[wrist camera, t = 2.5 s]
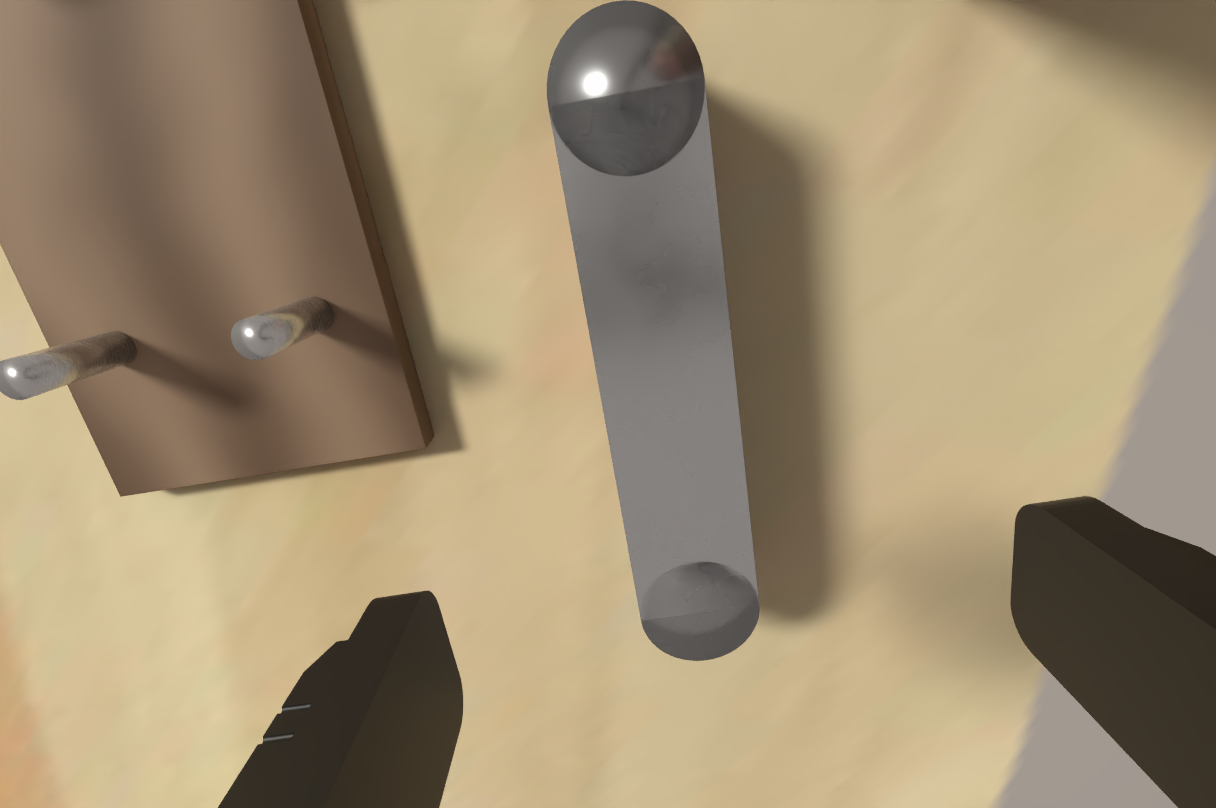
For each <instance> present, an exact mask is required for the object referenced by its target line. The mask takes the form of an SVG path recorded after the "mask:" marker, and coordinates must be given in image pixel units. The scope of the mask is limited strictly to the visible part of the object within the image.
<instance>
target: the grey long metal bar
mask: <svg viewBox="0 0 1216 808" xmlns="http://www.w3.org/2000/svg"><path fill="white" fill-rule="evenodd" d="M547 99H548V107H549V113H550V118H551V124H552V129H553V135H554V141H555V146H556V152H557V157H558V163H559V168H560V174H561V179H562V185H563V190H564V196H565V201H566V207H567V213H568V218H569V224H570V229H571V235H572V240H573V246H574V251H575V257H576V262H577V268H578V273H579V279H580V285H581V290H582V296H583V301H584V307H585V312H586V318H587V323H588V329H589V334H590V340H591V345H592V351H593V357H594V362H595V368H596V373H597V379H598V384H599V390H600V395H601V401H602V406H603V412H604V417H605V423H606V429H607V434H608V440H609V445H610V451H611V456H612V462H613V467H614V473H615V478H616V484H617V489H618V495H619V501H620V506H621V512H622V517H623V523H624V528H625V534H626V539H627V545H628V550H629V556H630V561H631V567H632V572H633V578H634V584H635V589H636V595H637V600H638V606H639V611H640V617H641V622H642V626H643V629H644V631H645V633H646V635H647V636H648V638H649V639H650V640H651V642H652V643H653V644H654V645H655V646H656V647H658V648H659V649H660V650H662V651H663V652H665V653H667V654H669V655H671V656H674V657H676V658H680V659H684V660H693V661H701V660H709V659H714V658H718V657H721V656H723V655H726V654H728V653H730V652H732V651H733V650H735V649H736V648H738V647H739V646H741V645H742V644H743V643H744V642H745V641H746V640H747V639H748V637H749V636H750V635H751V633H752V632H753V630H754V628H755V626H756V624H757V620H758V617H759V598H758V589H757V579H756V570H755V560H754V550H753V541H752V531H751V521H750V512H749V502H748V493H747V483H746V473H745V464H744V454H743V444H742V435H741V425H740V416H739V406H738V396H737V387H736V377H735V368H734V358H733V348H732V339H731V329H730V319H729V310H728V300H727V291H726V281H725V271H724V262H723V252H722V243H721V233H720V223H719V214H718V204H717V194H716V185H715V175H714V166H713V156H712V146H711V137H710V127H709V117H708V108H707V98H706V89H705V79H704V72H703V66H702V63H701V59H700V56H699V53H698V51H697V49H696V46H695V44H694V43H693V41H692V39H691V38H690V36H689V34H688V33H687V32H686V30H685V29H684V28H683V27H682V26H681V25H680V24H679V23H678V22H677V21H676V20H675V19H674V18H673V17H672V16H670V15H669V14H668V13H666V12H665V11H663V10H661V9H659V8H657V7H655V6H652V5H649V4H647V3H643V2H637V1H616V2H610V3H607V4H603V5H601V6H598V7H596V8H594V9H592V10H590V11H589V12H587V13H585V14H584V15H582V16H581V17H580V18H579V19H578V20H576V21H575V22H574V23H573V24H572V25H571V27H570V28H569V29H568V30H567V31H566V33H565V34H564V35H563V37H562V38H561V40H560V42H559V43H558V45H557V47H556V49H555V52H554V54H553V57H552V60H551V63H550V67H549V71H548V79H547Z"/></svg>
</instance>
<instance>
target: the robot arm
mask: <svg viewBox="0 0 1216 808" xmlns="http://www.w3.org/2000/svg"><path fill="white" fill-rule="evenodd" d="M1011 611H1012V616H1013V619H1014V623H1015V625H1016V628H1017V630H1018V633H1019V635H1020V637H1021V638H1022V640H1023V642H1024V643H1025V645H1026V646H1027V648H1028V649H1029V650H1030V651H1031V653H1032V654H1033V655H1034V656H1035V657H1036V658H1037V659H1038V660H1039V661H1040V662H1041V663H1042V664H1043V665H1044V666H1045V668H1046V669H1047V670H1048V671H1049V672H1050V673H1051V674H1052V675H1053V676H1054V677H1055V678H1056V679H1057V680H1058V681H1059V682H1060V683H1061V684H1062V685H1063V687H1064V688H1065V689H1066V690H1067V691H1068V692H1069V693H1070V694H1071V695H1072V696H1073V697H1074V698H1075V699H1076V700H1077V701H1078V702H1079V703H1080V704H1081V705H1082V707H1083V708H1084V709H1085V710H1086V711H1087V712H1088V713H1089V714H1090V715H1091V716H1092V717H1093V718H1094V719H1095V720H1096V721H1097V722H1098V723H1099V724H1100V726H1102V728H1103V729H1104V730H1105V731H1106V732H1107V733H1108V734H1109V735H1110V736H1111V737H1112V738H1113V739H1114V740H1115V741H1116V742H1117V743H1118V744H1119V745H1120V747H1121V748H1122V749H1123V750H1124V751H1125V752H1126V753H1127V754H1128V755H1129V756H1130V757H1131V758H1132V759H1133V760H1134V761H1135V762H1136V764H1137V765H1138V766H1139V767H1140V768H1141V769H1142V770H1143V771H1144V772H1145V773H1146V774H1147V775H1148V776H1149V777H1150V778H1151V779H1152V780H1153V781H1154V783H1155V784H1156V785H1157V786H1158V787H1159V788H1160V789H1161V790H1162V791H1163V792H1164V793H1165V794H1166V795H1167V796H1168V797H1169V798H1170V799H1171V800H1172V801H1173V803H1174V804H1175V805H1176V806H1177V807H1178V808H1216V556H1214V555H1213V554H1211V553H1209V552H1207V551H1206V550H1204V549H1202V548H1201V547H1198V546H1195V545H1192V544H1189V543H1187V542H1184V541H1181V540H1178V539H1176V538H1173V537H1170V536H1167V535H1165V534H1162V533H1159V532H1156V531H1153V530H1151V529H1148V528H1144V527H1143V526H1141V525H1139V524H1138V523H1136V522H1134V521H1133V520H1131V519H1129V518H1128V517H1126V516H1124V515H1123V514H1121V513H1120V512H1118V511H1116V510H1115V509H1113V508H1111V507H1110V506H1108V505H1106V504H1105V503H1103V502H1101V501H1100V500H1098V499H1096V498H1093V497H1088V496H1083V497H1076V498H1069V499H1062V500H1056V501H1049V502H1042V503H1035V504H1029V505H1025V506H1023V507H1022V508H1021V509H1020V510H1019V512H1018V513H1017V516H1016V521H1015V534H1014V551H1013V568H1012V586H1011ZM462 715H463V691H462V683H461V678H460V675H459V671H458V668H457V665H456V661H455V658H454V655H453V651H452V648H451V645H450V641H449V638H448V635H447V631H446V628H445V625H444V621H443V618H442V615H441V611H440V608H439V605H438V602H437V600H436V598H435V596H434V595H433V593H432V592H430V591H422V592H415V593H408V594H401V595H394V596H387V597H381V598H375V599H373V600H372V601H371V602H370V604H369V605H368V607H367V608H366V610H365V612H364V613H363V615H362V617H361V619H360V620H359V622H358V624H357V626H356V627H355V629H354V631H353V632H352V634H351V636H350V638H349V639H348V640H345V641H338V642H336V643H335V644H334V645H333V646H331V647H330V648H329V649H328V650H327V651H326V652H325V653H324V654H323V655H322V656H321V657H320V658H319V659H317V660H316V661H315V662H314V663H313V664H312V665H311V666H310V667H309V668H308V669H307V670H306V671H305V672H304V673H303V674H302V676H301V677H300V679H299V680H298V682H297V684H296V685H295V687H294V688H293V690H292V691H291V693H290V695H289V696H288V698H287V699H286V701H285V703H284V704H283V706H282V713H280V714H277V715H276V717H275V718H274V720H273V721H272V723H271V725H270V726H269V728H268V729H267V731H266V733H265V734H264V736H263V743H262V744H259V745H257V747H256V748H255V750H254V751H253V753H252V755H251V756H250V758H249V759H248V761H247V763H246V764H245V766H244V767H243V769H242V770H241V772H240V774H239V775H238V777H237V778H236V780H235V781H234V783H233V785H232V786H231V788H230V789H229V791H228V793H227V794H226V796H225V797H224V799H223V800H222V802H221V804H220V805H219V807H218V808H439V806H440V802H441V799H442V795H443V791H444V787H445V784H446V780H447V776H448V773H449V769H450V765H451V761H452V758H453V754H454V750H455V747H456V743H457V739H458V735H459V732H460V728H461V723H462Z"/></svg>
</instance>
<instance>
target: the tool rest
mask: <svg viewBox="0 0 1216 808" xmlns="http://www.w3.org/2000/svg"><path fill="white" fill-rule="evenodd" d="M0 244H1V247H2V249H3V251H4V253H5V255H6V257H7V259H8V261H9V263H10V265H11V268H12V270H13V272H14V274H15V276H16V278H17V280H18V282H19V284H20V286H21V289H22V291H23V293H24V295H25V297H26V299H27V301H28V303H29V305H30V307H31V310H32V312H33V314H34V316H35V318H36V320H37V322H38V324H39V326H40V328H41V331H42V333H43V335H44V337H45V339H46V341H47V343H48V345H49V347H50V348H47V349H44V350H40V351H36V352H32V353H29V354H25V355H21V356H18V357H14V358H10V359H7V360H3V361H0V391H1V392H2V393H3V394H4V395H6V396H8V397H10V398H12V399H16V400H24V399H28V398H31V397H33V396H36V395H39V394H42V393H45V392H48V391H51V390H54V389H56V388H59V387H62V386H65V385H68V387H69V389H70V391H71V394H72V396H73V398H74V400H75V402H76V404H77V406H78V408H79V410H80V412H81V415H82V417H83V419H84V421H85V423H86V425H87V427H88V429H89V431H90V433H91V436H92V438H93V440H94V442H95V444H96V446H97V448H98V450H99V452H100V454H101V457H102V459H103V461H104V463H105V465H106V467H107V469H108V471H109V473H110V475H111V478H112V480H113V482H114V484H115V486H116V488H117V490H118V492H119V494H120V496H127V495H134V494H140V493H146V492H153V491H159V490H165V489H172V488H178V487H184V486H191V485H197V484H203V483H209V482H216V481H222V480H228V479H235V478H241V477H247V476H254V475H260V474H266V473H273V472H279V471H285V470H291V469H298V468H304V467H310V466H317V465H323V464H329V463H336V462H342V461H348V460H355V459H361V458H367V457H374V456H380V455H386V454H392V453H399V452H405V451H411V450H418V449H424V448H426V447H427V446H428V444H429V443H430V442H431V440H432V439H433V437H434V433H433V430H432V426H431V422H430V419H429V415H428V412H427V408H426V405H425V401H424V397H423V394H422V390H421V387H420V383H419V380H418V376H417V372H416V369H415V365H414V362H413V358H412V355H411V351H410V347H409V344H408V340H407V337H406V333H405V330H404V326H403V322H402V319H401V315H400V312H399V308H398V305H397V301H396V297H395V294H394V290H393V287H392V283H391V280H390V276H389V272H388V269H387V265H386V262H385V258H384V255H383V251H382V247H381V244H380V240H379V237H378V233H377V230H376V226H375V222H374V219H373V215H372V212H371V208H370V205H369V201H368V197H367V194H366V190H365V187H364V183H363V180H362V176H361V172H360V169H359V165H358V162H357V158H356V155H355V151H354V147H353V144H352V140H351V137H350V133H349V130H348V126H347V122H346V119H345V115H344V112H343V108H342V105H341V101H340V97H339V94H338V90H337V87H336V83H335V80H334V76H333V72H332V69H331V65H330V62H329V58H328V55H327V51H326V47H325V44H324V40H323V37H322V33H321V30H320V26H319V22H318V19H317V15H316V12H315V8H314V5H313V1H312V0H0Z"/></svg>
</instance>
